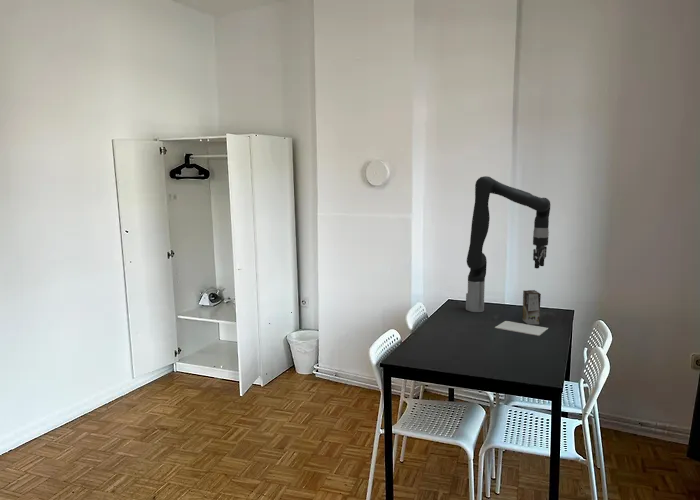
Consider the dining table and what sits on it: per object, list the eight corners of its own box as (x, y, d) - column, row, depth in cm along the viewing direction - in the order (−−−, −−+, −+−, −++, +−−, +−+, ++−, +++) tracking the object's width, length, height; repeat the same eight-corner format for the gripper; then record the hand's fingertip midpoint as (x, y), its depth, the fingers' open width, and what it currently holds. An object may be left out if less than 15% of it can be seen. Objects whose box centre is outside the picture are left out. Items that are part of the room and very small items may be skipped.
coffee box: (539, 324, 268) (541, 293, 266) (527, 324, 269) (528, 294, 266) (534, 319, 277) (535, 289, 275) (521, 319, 278) (522, 289, 275)
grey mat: (494, 328, 264) (494, 327, 264) (505, 321, 275) (505, 320, 274) (539, 335, 250) (539, 335, 250) (548, 328, 261) (548, 328, 261)
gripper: (538, 234, 282) (536, 264, 284) (528, 237, 271) (527, 268, 273) (552, 235, 277) (550, 265, 280) (543, 238, 266) (541, 270, 269)
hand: (539, 267), depth 277 cm, fingers open, 7 cm apart
